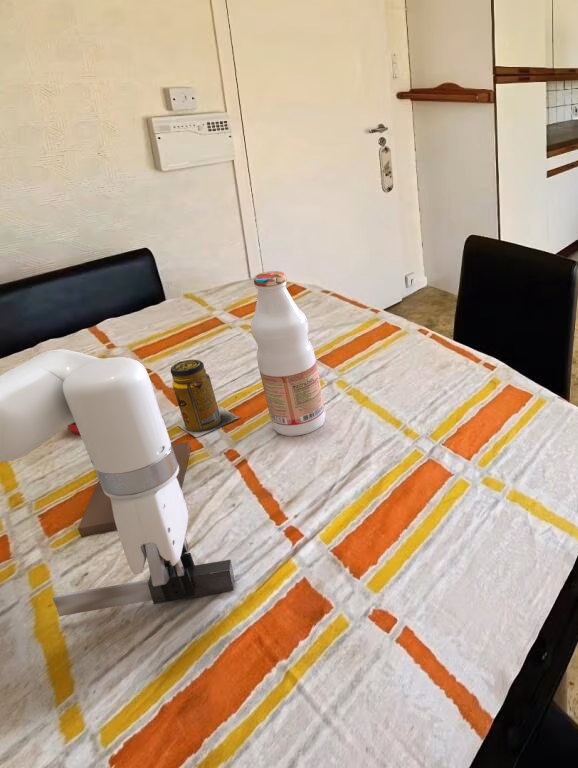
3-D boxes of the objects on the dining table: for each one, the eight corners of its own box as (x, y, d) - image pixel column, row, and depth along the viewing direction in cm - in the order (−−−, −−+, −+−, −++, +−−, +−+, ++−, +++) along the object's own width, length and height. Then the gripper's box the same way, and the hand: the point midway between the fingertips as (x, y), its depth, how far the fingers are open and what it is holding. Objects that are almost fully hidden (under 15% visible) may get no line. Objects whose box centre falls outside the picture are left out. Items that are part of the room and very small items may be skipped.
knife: (57, 621, 73) (49, 600, 71) (62, 608, 74) (54, 587, 73) (233, 590, 78) (229, 570, 77) (234, 579, 80) (230, 559, 78)
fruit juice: (266, 438, 109) (229, 286, 96) (280, 411, 117) (248, 267, 104) (321, 435, 110) (292, 284, 96) (330, 408, 118) (305, 265, 105)
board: (81, 536, 87) (77, 528, 87) (112, 462, 103) (109, 454, 103) (174, 518, 91) (171, 510, 90) (191, 448, 107) (188, 441, 106)
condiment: (176, 425, 113) (157, 366, 108) (220, 406, 119) (204, 349, 114) (196, 438, 109) (178, 378, 104) (240, 418, 115) (225, 360, 109)
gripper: (116, 436, 74) (160, 552, 83) (79, 520, 61) (136, 648, 69) (185, 425, 76) (221, 539, 85) (163, 504, 63) (209, 631, 71)
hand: (182, 587), depth 77 cm, fingers closed on knife, 2 cm apart
